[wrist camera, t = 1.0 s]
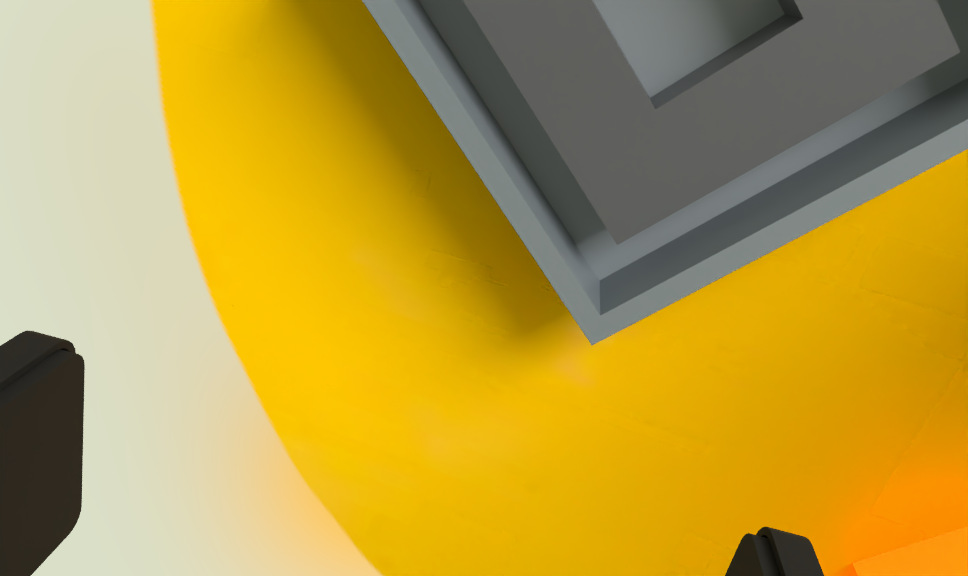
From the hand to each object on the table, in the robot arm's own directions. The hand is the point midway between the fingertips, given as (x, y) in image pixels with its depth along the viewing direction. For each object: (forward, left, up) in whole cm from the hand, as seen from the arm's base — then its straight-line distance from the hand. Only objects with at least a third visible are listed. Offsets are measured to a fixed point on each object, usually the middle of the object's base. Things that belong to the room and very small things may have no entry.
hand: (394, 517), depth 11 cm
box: (-8, -2, -26) cm, 28 cm away
